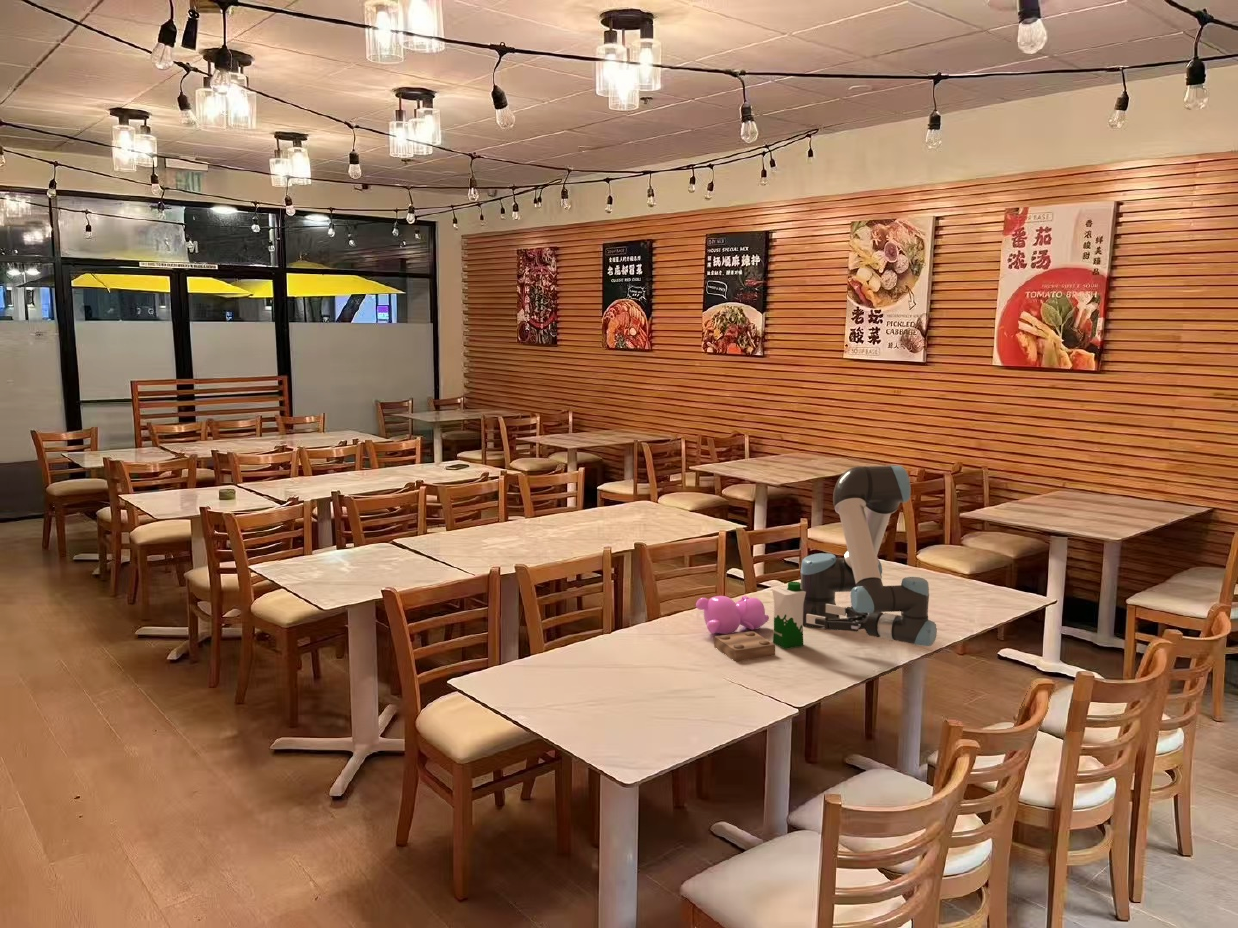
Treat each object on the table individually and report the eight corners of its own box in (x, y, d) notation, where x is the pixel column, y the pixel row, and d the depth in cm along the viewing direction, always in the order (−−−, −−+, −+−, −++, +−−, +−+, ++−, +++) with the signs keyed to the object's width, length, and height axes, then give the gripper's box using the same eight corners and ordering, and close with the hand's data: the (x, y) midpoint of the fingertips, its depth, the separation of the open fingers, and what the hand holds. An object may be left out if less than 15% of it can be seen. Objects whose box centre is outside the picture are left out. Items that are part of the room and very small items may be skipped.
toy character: (745, 613, 319) (685, 611, 308) (760, 585, 312) (700, 583, 301) (764, 645, 307) (702, 645, 296) (781, 618, 301) (718, 616, 290)
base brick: (714, 648, 289) (714, 635, 288) (752, 642, 294) (752, 630, 293) (735, 663, 276) (735, 649, 275) (775, 656, 281) (775, 643, 280)
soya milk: (807, 646, 289) (808, 585, 286) (784, 650, 285) (785, 589, 282) (791, 638, 297) (792, 579, 294) (768, 642, 293) (769, 582, 290)
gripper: (864, 648, 260) (798, 634, 274) (897, 627, 280) (833, 615, 293) (865, 623, 260) (798, 610, 273) (898, 603, 279) (834, 592, 292)
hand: (816, 613), depth 283 cm, fingers open, 13 cm apart
